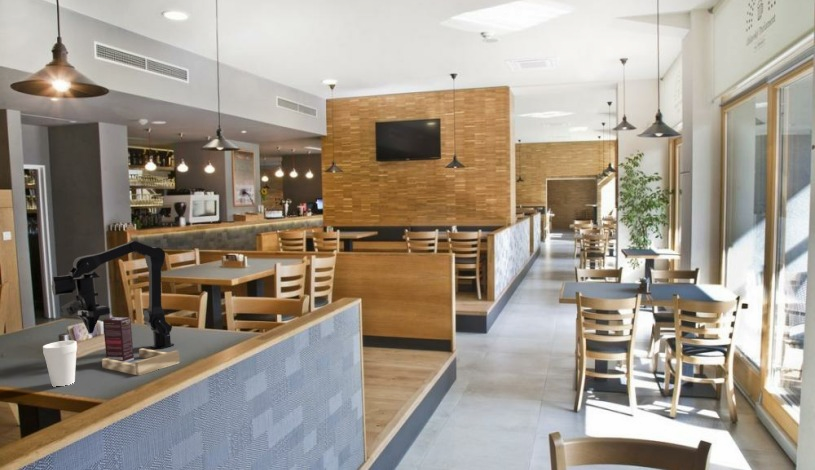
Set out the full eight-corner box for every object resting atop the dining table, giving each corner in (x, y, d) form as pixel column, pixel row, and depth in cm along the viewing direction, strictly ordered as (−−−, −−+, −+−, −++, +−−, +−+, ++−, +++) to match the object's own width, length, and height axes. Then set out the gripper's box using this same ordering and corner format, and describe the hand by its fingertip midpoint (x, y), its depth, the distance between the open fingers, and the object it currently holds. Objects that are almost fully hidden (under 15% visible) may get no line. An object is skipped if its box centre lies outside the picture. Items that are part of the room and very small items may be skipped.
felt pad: (116, 366, 202) (116, 366, 202) (142, 359, 210) (142, 358, 210) (140, 371, 194) (140, 371, 194) (166, 363, 203) (166, 363, 203)
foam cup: (56, 380, 189) (52, 341, 188) (85, 378, 190) (82, 339, 189) (40, 389, 180) (36, 349, 179) (71, 387, 181) (67, 347, 180)
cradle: (102, 367, 202) (101, 355, 201) (143, 356, 215) (142, 344, 214) (138, 375, 190) (137, 362, 190) (179, 362, 203) (178, 350, 203)
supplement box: (134, 359, 210) (131, 317, 209) (124, 363, 206) (120, 320, 205) (116, 358, 213) (112, 316, 212) (105, 362, 208) (102, 319, 207)
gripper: (49, 294, 208) (54, 336, 209) (77, 296, 198) (82, 340, 199) (80, 288, 217) (85, 328, 219) (108, 290, 207) (113, 333, 209)
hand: (90, 333), depth 211 cm, fingers closed
